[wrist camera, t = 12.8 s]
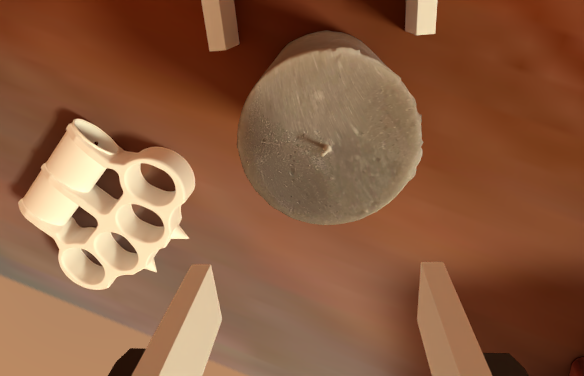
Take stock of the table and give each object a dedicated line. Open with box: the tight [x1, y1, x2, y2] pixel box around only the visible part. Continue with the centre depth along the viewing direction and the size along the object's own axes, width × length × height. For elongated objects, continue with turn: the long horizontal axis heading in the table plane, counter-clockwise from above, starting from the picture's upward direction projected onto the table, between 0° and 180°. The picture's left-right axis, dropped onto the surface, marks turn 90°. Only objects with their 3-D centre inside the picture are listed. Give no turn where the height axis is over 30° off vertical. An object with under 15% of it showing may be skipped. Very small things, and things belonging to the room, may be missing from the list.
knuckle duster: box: [18, 119, 195, 290], centre depth 38 cm, size 3×18×15 cm
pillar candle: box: [237, 30, 423, 225], centre depth 26 cm, size 10×10×15 cm
